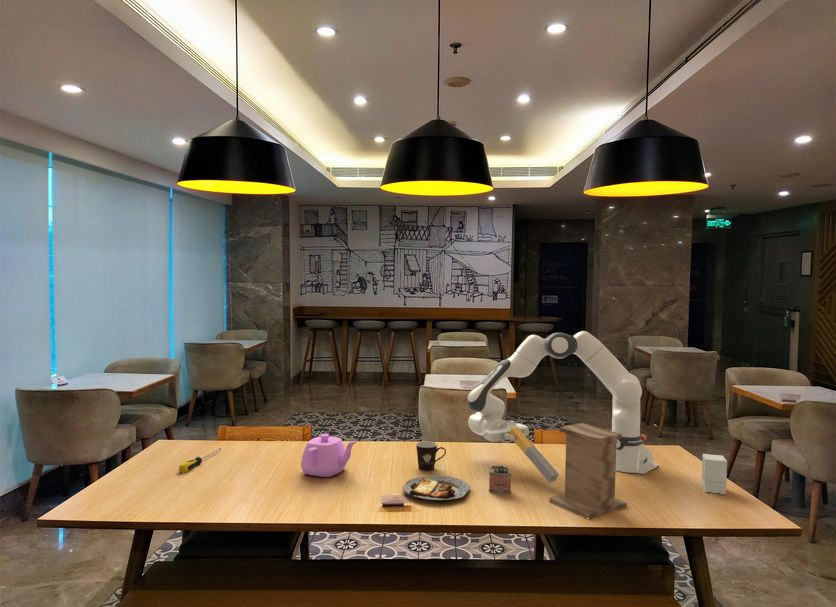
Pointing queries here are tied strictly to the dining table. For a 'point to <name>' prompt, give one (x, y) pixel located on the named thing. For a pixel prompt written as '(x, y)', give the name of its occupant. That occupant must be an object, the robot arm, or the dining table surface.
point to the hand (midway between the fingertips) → (519, 437)
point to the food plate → (428, 487)
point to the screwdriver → (192, 463)
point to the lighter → (500, 480)
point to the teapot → (325, 456)
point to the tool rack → (589, 471)
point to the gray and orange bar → (534, 455)
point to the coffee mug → (427, 455)
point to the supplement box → (714, 473)
